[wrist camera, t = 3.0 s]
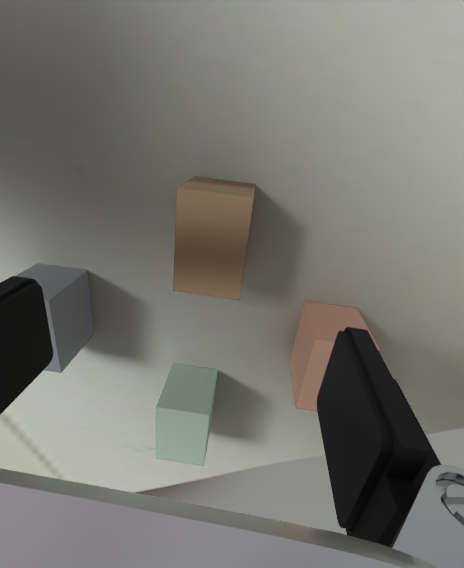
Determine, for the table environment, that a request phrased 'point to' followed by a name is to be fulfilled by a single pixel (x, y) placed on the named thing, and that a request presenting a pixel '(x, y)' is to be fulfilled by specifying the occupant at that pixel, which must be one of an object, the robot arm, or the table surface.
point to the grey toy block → (65, 310)
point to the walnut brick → (212, 236)
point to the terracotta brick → (318, 347)
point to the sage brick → (185, 414)
